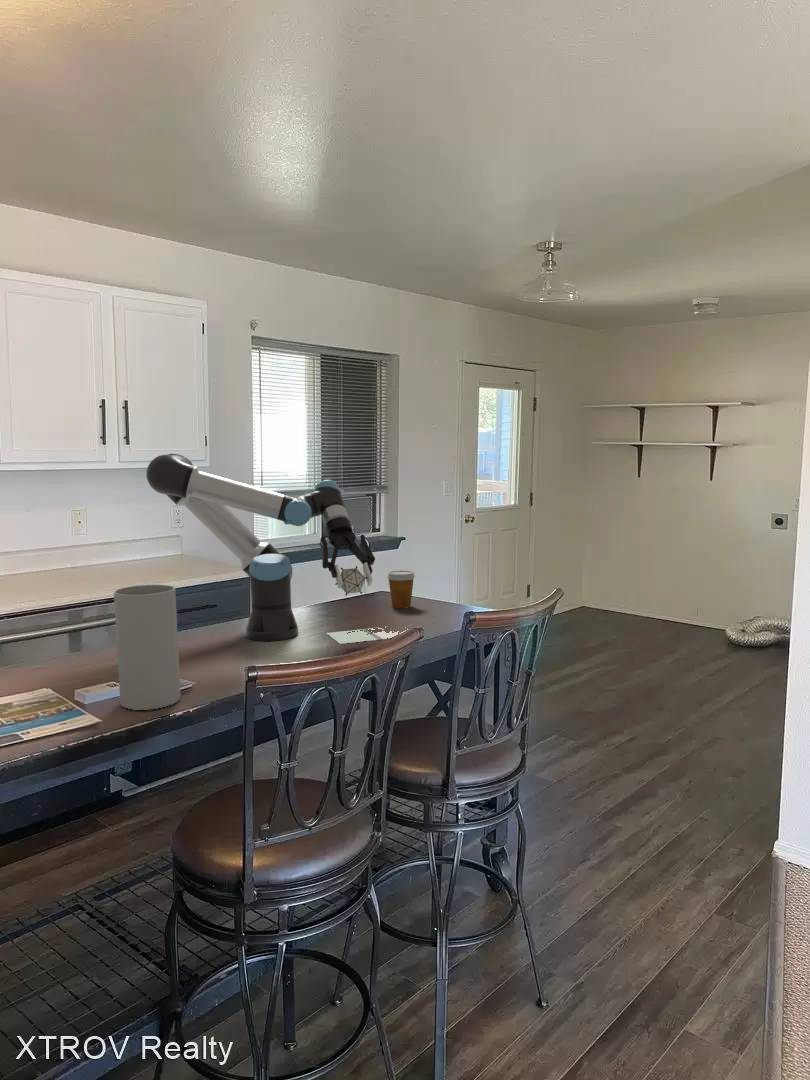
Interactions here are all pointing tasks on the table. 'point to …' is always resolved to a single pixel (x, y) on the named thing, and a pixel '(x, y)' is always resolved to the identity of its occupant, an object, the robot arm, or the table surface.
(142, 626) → the cylinder vase
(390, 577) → the disposable coffee cup
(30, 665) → the table surface
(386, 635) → the game board
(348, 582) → the game die
